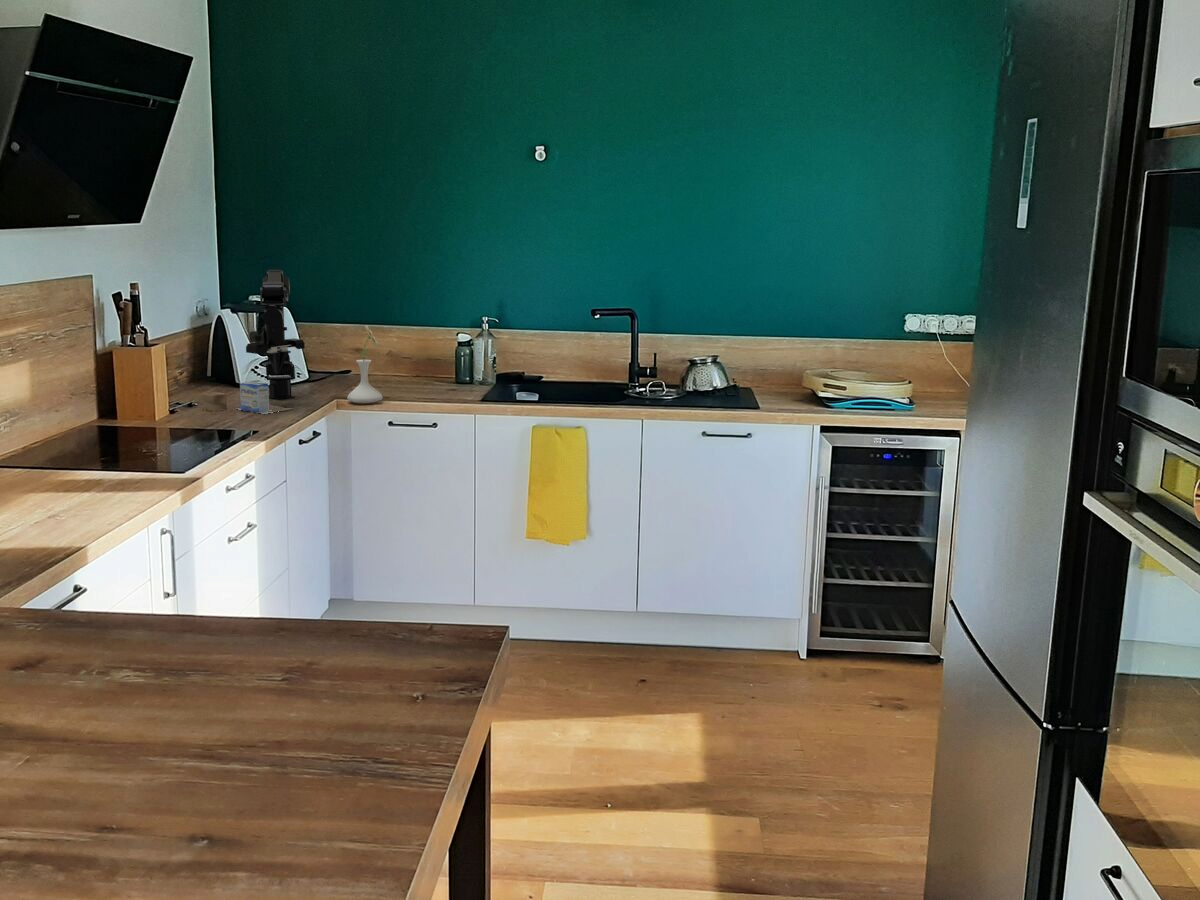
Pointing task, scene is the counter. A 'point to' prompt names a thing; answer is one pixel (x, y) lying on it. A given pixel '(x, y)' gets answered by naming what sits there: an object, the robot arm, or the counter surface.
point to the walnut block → (214, 401)
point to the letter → (260, 412)
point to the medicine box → (254, 396)
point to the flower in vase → (365, 379)
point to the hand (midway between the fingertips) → (277, 373)
